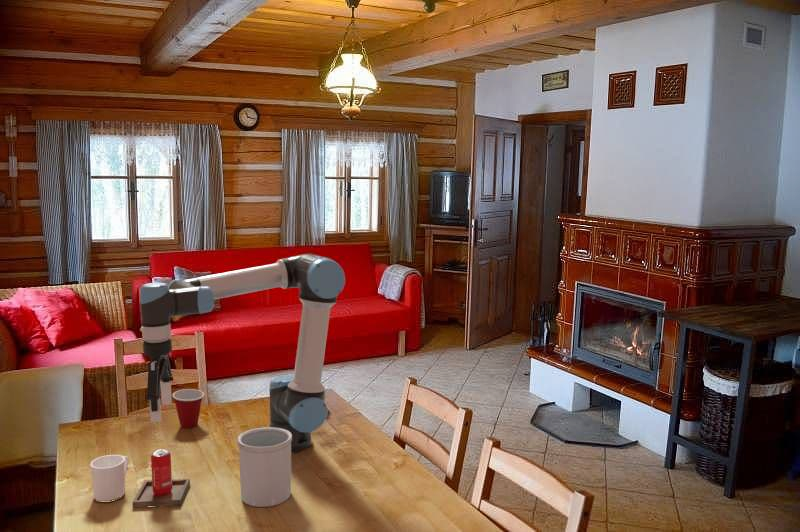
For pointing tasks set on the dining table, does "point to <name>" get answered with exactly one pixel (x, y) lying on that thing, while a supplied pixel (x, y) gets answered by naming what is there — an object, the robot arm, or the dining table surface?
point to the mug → (109, 477)
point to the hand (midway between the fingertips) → (161, 412)
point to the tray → (173, 499)
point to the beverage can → (161, 472)
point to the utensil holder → (265, 466)
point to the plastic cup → (188, 406)
